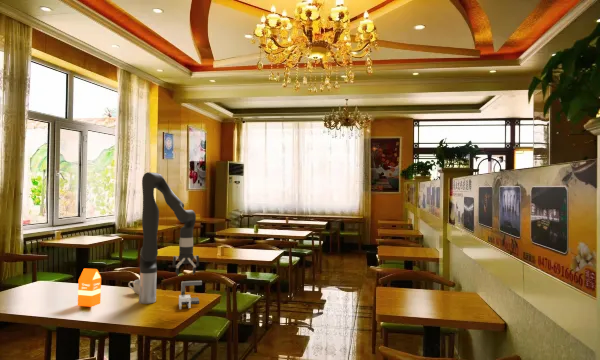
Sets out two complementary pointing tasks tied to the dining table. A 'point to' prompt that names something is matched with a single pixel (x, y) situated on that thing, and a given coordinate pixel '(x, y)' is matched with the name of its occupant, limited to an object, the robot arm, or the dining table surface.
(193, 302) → the stand
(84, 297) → the orange juice
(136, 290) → the teacup
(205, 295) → the dining table surface
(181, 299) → the white rounded block
